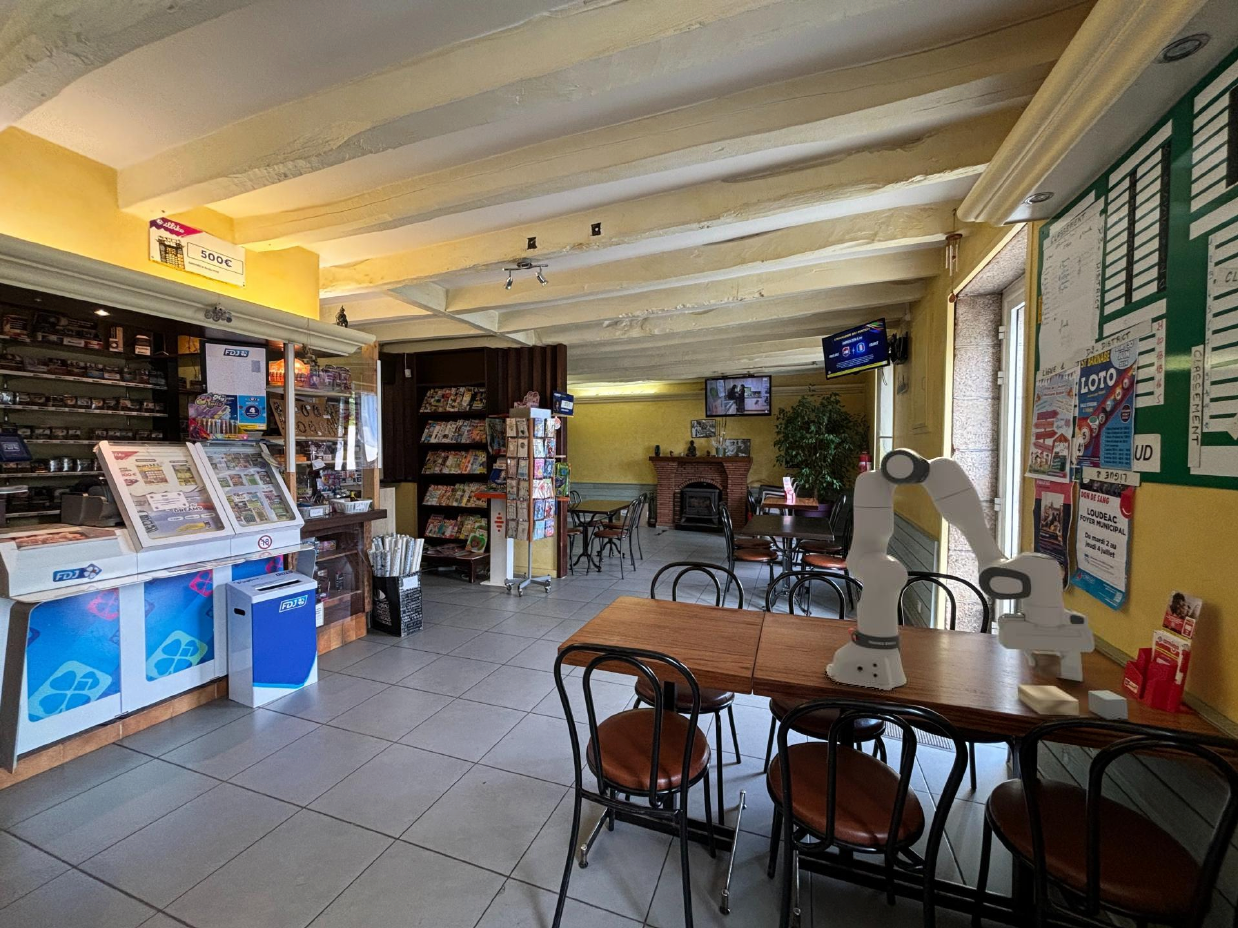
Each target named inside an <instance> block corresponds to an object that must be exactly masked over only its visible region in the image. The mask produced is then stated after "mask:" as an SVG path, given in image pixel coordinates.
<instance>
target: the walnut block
mask: <svg viewBox="0 0 1238 928" xmlns="http://www.w3.org/2000/svg"><path fill="white" fill-rule="evenodd" d="M1031 656H1032V658H1035V659H1036V660H1038V663H1037V664H1038V666H1031V669H1032V670H1033V671H1034V672H1036V673H1037V674H1038V675H1040V676H1041V677H1055V678H1059V677H1062V673H1061V658H1060V657H1059V656H1057V655H1056V654H1054V651H1045V650H1032V654H1031Z"/></svg>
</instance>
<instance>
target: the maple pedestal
mask: <svg viewBox="0 0 1238 928" xmlns="http://www.w3.org/2000/svg"><path fill="white" fill-rule="evenodd" d="M1017 696H1018V697H1017V699H1018V700H1019V701H1021V702H1023V703H1024V704H1025V705H1026V706H1028V707H1029V708H1031V710H1034V711H1035V712H1036V713H1038V714H1039V715H1055V716H1056V715H1058V716H1080V705H1079V700H1078V699H1076V698H1075V697H1073V696H1072V695H1070V694H1068V693H1066V692H1065V691H1064V690H1062V689H1060V688H1058V686H1055V685H1031V684H1029V685H1026V684H1025V685H1024V684H1017Z"/></svg>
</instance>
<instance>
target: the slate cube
mask: <svg viewBox="0 0 1238 928" xmlns="http://www.w3.org/2000/svg"><path fill="white" fill-rule="evenodd" d="M1087 693H1088V709H1089V711H1090V712H1092V713H1094V714H1095V715H1098V716H1100V717H1102V718H1104V719H1105V718H1106V720H1119V719H1118V718H1121V719H1120V720H1129V719H1128V717H1129V716H1128V714H1129V713H1128V699H1127V698H1125V697H1123V696H1121V695H1119V694H1116V693H1114V692H1113V691H1110V690H1108V689H1107V690H1088V692H1087Z"/></svg>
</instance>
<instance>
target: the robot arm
mask: <svg viewBox="0 0 1238 928" xmlns="http://www.w3.org/2000/svg"><path fill="white" fill-rule="evenodd" d="M879 466H880V467H879V468H878V469H874V470H868V471H864V472H862V473H860V474H859V475H858V476H857V477H856V480H855V484H854V491H853V493H854V494H853V533H852V540H851V545H850V551H849V553H848V554H847V556H846V558H845V566H846V569H847V571H848V572H849V574H850V575H851V576H852V577H853V578H854V579H856V580H857V581H859V582H861V583H862V590H861V596H860V599H859V601H858V602H857V605H856V614H857V615H856V617H857V628H856V629H854V628H852V627H848V629H847V633H848V635H849V636H850V639H851V641H849V642H848V643H846V644H845V645H844V646H842V647H840V648H839V649H837V650H836V651H835V653H834V656H833V661H832V663H828V665H826V667H825V668H826V669H825V672H826V671H827V674H828V675H829V676H830V677H831V676H834V677H831V678H833V679H835V680H836V681H839V682H842V683H848V684H853V685H859V686H858V687H860V686H865V687H864V688H867V687H875V688H879V689H878V690H881V689H883V690H882V691H891V690H892V688H893V689H894V688H895V687H901V686H903V685H906V683H907V678H906V675H905V672H904V668H903V664H902V660H901V648H902V647H901V645H902V644H901V636H900V633H899V627H898V605H899V604H898V603H899V600H900V599H899V598H900V596H901V595H900V594H901V592H902V589H903V588H904V587H905V586H906V585H907V582H908V580H909V579H908V578H909V577H908V576H909V574H908V570H907V568H906V567H905V565H904V564H903V563H902V562H900V561H899V560H898V559H897V558H895V557H894V556H891V555H889V554H887V551H888V545H889V541H890V539H891V537H892V536H893V534H894V532H895V531H894V530H895V527H894V526H895V525H894V524H895V521H894V516H895V515H894V493H895V489H896V488H897V487H899V486H905V485H906V486H907V485H913V484H914V485H915V484H920V485H921V486H922V487H923V488H925V490H926V491H927V493H928V495H929V497H930V499H931V502H932V503H933V505H934V507H935V508H936V510H937V511H938V513H939V515H940V516H941V517H942V518H943V519H944V521H945V522H947V523H948V524H950V525H951V526H953V527H954V528H956V529H957V530H958V531H959V532H960V533H961V534H962V535H963V537H964V538H965V540H966V541H967V543H968V545H969V547H970V549H971V551H972V553H973V554H974V555H975V558H976V561H977V564H978V565H977V567H978V568H977V571H978V579H977V581H978V586H979V588H980V590H981V591H982V592H983V593H984V595H986V596H988V597H989V598H991V599H994V600H997V601H998V600H999V601H1004V600H1005V601H1009V600H1020V601H1021V602H1020V604H1021V612H1020V613H1018V612H1017V613H1009V612H1007V613H1003V614H1001V615H999V617H998V618H997V626H998V643H999V644H1000V645H1001V646H1002V647H1003V648H1005V649H1007V650H1021V651H1022V652H1023V654H1024V656H1025V657H1026V658H1027V663H1028V665H1029V666H1030V667H1032V666H1038V664H1037V663H1038V660H1036V659H1035V658H1032V651H1051V652H1054V651H1059V653H1061V654H1060V656H1059V657H1060V658H1061V668H1065V661H1066V660H1067V658H1068V657H1069V651H1071V652H1080V653H1092V652H1093V651H1094V649H1095V647H1096V646H1095V638H1094V635H1093V634H1094V633H1093V631H1092V629H1091V627H1090V626H1089V624H1090V618H1089V617H1088V616H1086V615H1084V614H1082V613H1080V612H1077V611H1075V610H1072V609H1069V608H1065V603H1064V600H1063V596H1062V595H1063V590H1064V583H1063V576H1062V575H1063V574H1062V570H1061V565H1060V563H1059V562H1058V560H1056V558H1054V557H1052V556H1051V555H1049V554H1045V553H1042V552H1037V551H1036V552H1035V551H1022V552H1021V553H1020V554H1018V555H1016V556H1015V557H1012V558H1008V557H1007V556H1006V555H1005V554H1003V552H1002V551H1001V550H1000V548H999V546H998V545H997V543H996V540H995V539H994V537H993V535H992V533H991V532H990V530H989V528H988V526H987V523H986V519H985V512H984V508H983V504H982V501H981V498H980V495H979V494H978V491H977V489H976V487H975V486H974V484H973V482H972V480H971V479H970V477H969V476H968V474H967V473H966V472H965V470H964V469H963V468H962V466H961V465H960V464H959V462H957V461H956V460H955V459H954V458H952V457H950V456H941V457H940V456H939V457H935V458H933V459H929V460H928V459H926V458H924V457H923V456H921V455H920V454H919V453H918V452H917V451H916V450H914V449H911V448H908V447H898V448H894V449H891V450H890V451H888V452H887V453H885V454H884V456H883V457H882V459H881V461H880V465H879ZM827 674H826V675H827ZM853 685H852V686H853Z"/></svg>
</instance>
